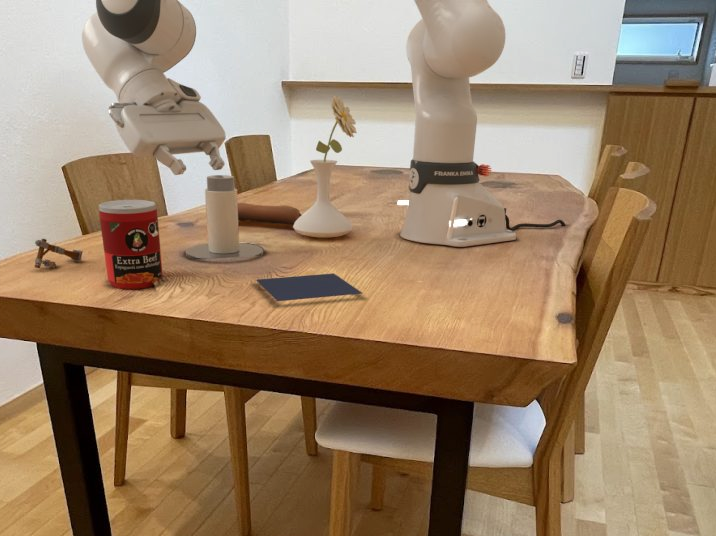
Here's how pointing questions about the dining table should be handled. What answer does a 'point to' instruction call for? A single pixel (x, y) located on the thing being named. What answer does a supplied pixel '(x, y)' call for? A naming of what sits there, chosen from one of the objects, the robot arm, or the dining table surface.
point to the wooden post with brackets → (42, 244)
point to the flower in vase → (327, 185)
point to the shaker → (222, 214)
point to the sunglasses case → (268, 213)
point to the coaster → (203, 253)
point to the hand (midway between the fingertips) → (201, 169)
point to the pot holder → (307, 287)
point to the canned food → (131, 243)
